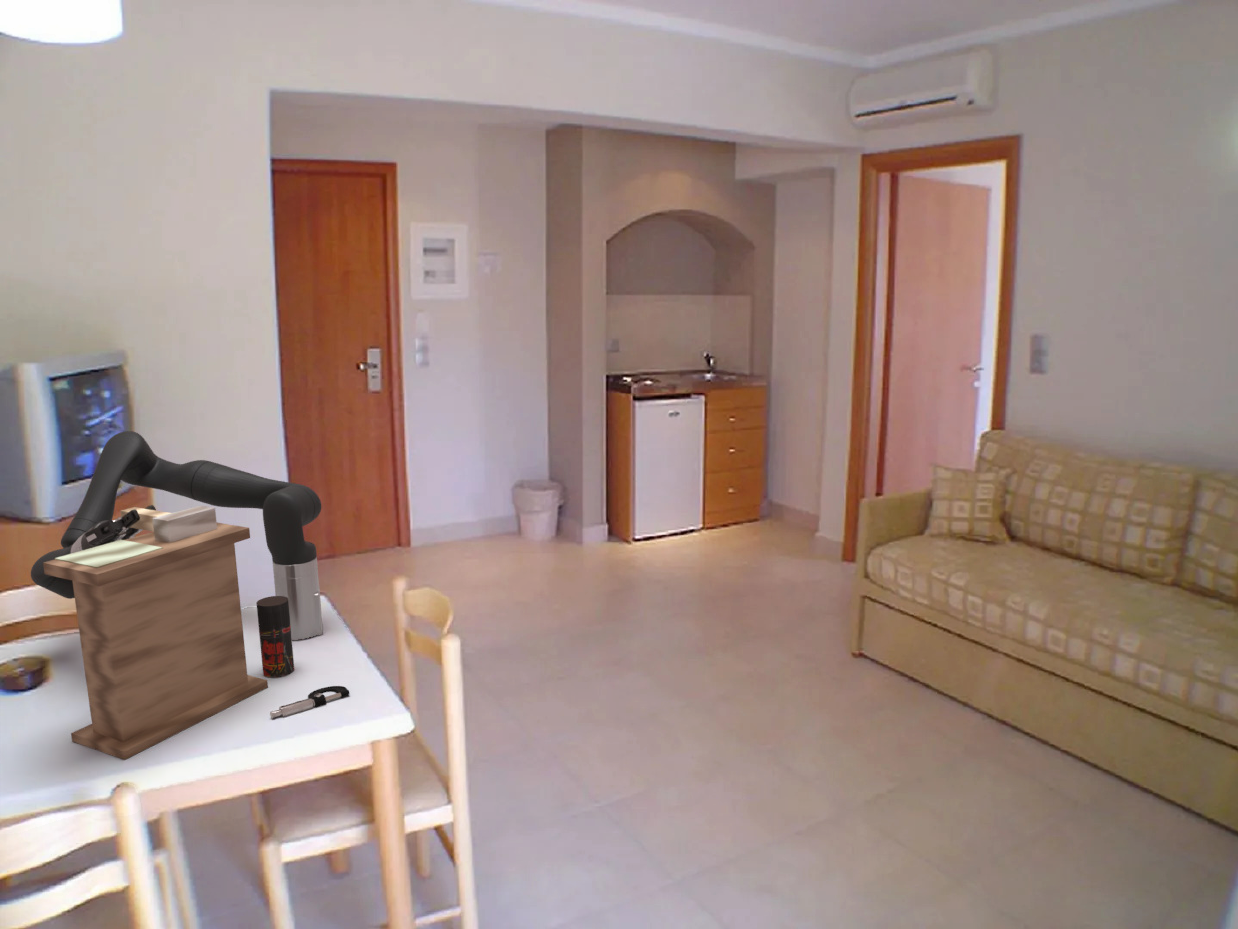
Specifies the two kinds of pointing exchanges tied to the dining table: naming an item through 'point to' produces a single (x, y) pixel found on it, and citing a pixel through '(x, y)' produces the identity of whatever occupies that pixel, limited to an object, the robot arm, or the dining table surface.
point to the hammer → (175, 522)
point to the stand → (158, 635)
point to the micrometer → (310, 701)
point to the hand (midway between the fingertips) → (145, 512)
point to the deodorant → (275, 636)
